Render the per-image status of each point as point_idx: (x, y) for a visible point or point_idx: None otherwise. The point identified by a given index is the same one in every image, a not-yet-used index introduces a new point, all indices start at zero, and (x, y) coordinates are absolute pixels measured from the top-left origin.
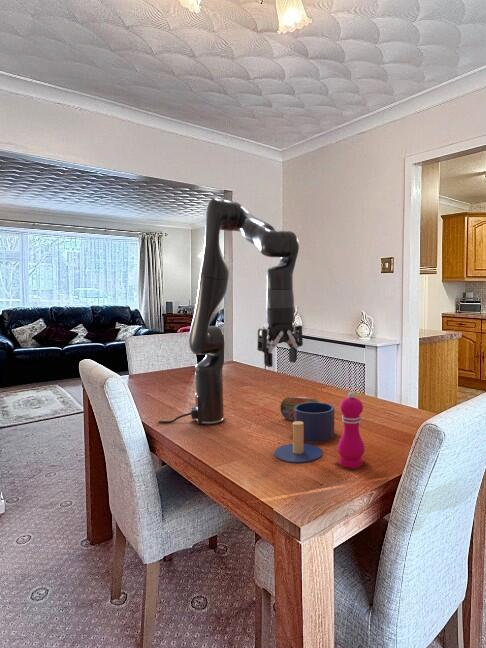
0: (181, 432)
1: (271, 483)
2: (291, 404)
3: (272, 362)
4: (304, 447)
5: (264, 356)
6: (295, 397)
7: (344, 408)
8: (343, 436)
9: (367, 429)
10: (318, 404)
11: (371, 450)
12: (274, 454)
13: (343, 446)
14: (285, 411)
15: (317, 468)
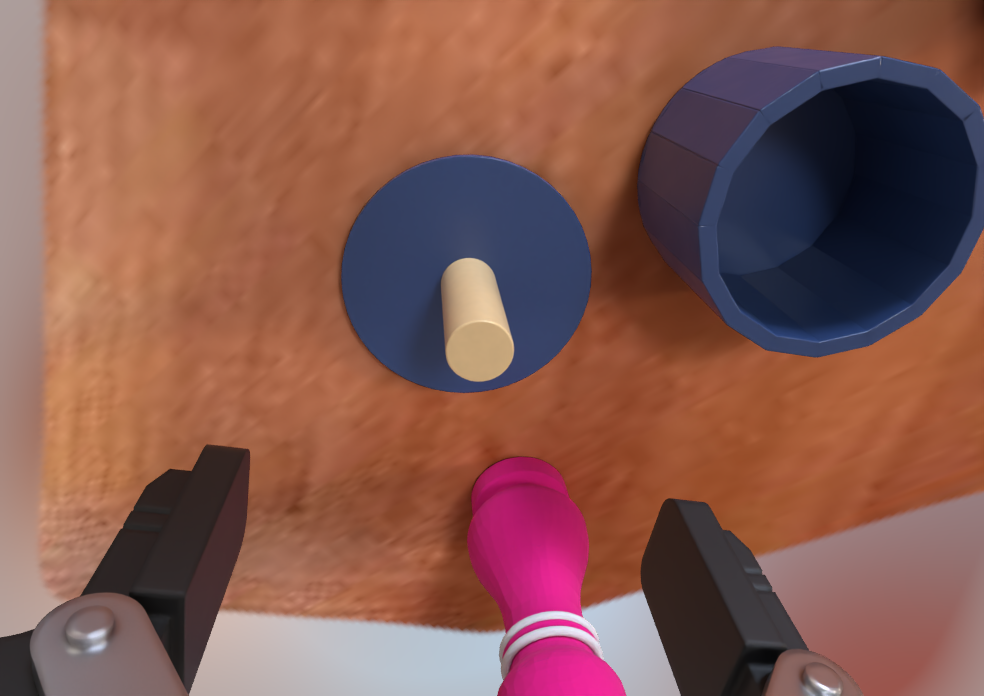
0: None
1: (155, 372)
2: None
3: (226, 582)
4: (537, 271)
5: (101, 566)
6: None
7: None
8: (498, 575)
9: (971, 336)
10: (968, 170)
11: (704, 479)
12: (365, 206)
13: (473, 559)
14: None
15: (404, 422)
